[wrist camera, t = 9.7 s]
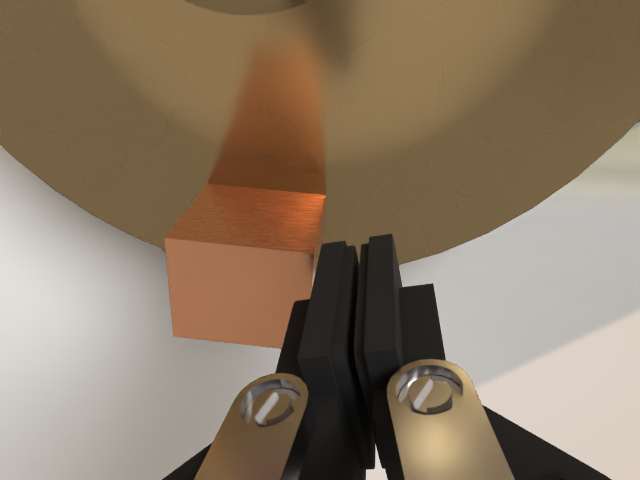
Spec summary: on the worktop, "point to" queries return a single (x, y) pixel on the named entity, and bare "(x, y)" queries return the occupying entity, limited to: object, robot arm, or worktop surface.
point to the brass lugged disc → (308, 128)
